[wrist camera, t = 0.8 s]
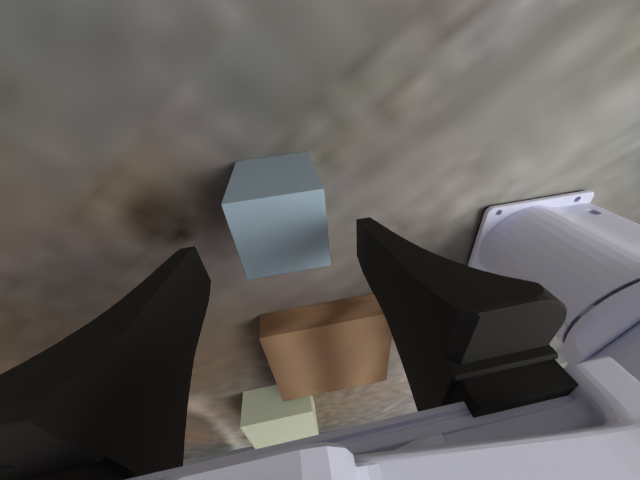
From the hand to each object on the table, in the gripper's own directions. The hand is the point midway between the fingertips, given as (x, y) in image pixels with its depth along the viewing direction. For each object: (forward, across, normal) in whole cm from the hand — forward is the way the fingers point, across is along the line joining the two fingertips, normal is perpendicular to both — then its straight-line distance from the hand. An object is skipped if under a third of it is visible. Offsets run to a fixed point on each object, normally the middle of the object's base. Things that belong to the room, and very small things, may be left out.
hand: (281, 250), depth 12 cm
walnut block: (+7, -2, +18) cm, 20 cm away
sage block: (+7, +5, +29) cm, 30 cm away
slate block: (+7, 0, 0) cm, 7 cm away
